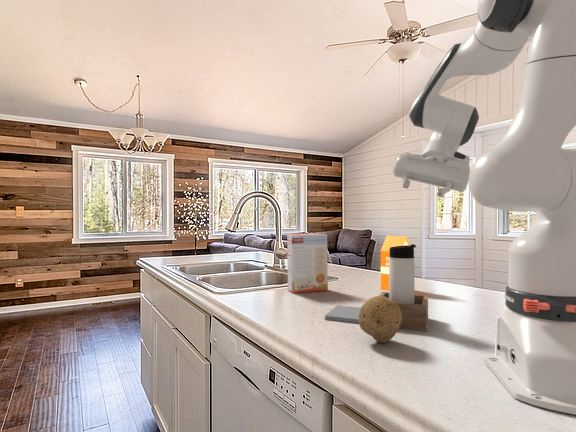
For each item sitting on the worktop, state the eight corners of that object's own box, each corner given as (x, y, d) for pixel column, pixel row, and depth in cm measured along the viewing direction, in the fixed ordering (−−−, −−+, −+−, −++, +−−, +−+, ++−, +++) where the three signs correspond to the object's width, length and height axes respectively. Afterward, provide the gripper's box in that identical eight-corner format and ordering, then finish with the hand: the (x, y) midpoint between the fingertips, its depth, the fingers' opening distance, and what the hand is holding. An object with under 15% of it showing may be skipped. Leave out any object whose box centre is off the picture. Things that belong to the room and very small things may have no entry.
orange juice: (392, 286, 139) (392, 235, 139) (412, 290, 132) (412, 236, 132) (380, 289, 134) (380, 236, 134) (401, 292, 127) (401, 237, 127)
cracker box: (321, 287, 136) (321, 233, 136) (328, 291, 130) (328, 234, 130) (286, 290, 131) (286, 233, 132) (292, 293, 126) (292, 234, 126)
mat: (366, 324, 89) (366, 320, 89) (324, 319, 94) (324, 315, 94) (374, 312, 100) (374, 309, 100) (337, 308, 105) (337, 305, 105)
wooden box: (426, 331, 84) (426, 306, 84) (374, 325, 89) (374, 301, 89) (427, 318, 95) (427, 295, 95) (382, 313, 100) (382, 291, 100)
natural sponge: (380, 353, 70) (380, 303, 70) (349, 340, 78) (349, 294, 78) (410, 344, 75) (410, 297, 75) (379, 333, 83) (379, 290, 83)
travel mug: (417, 326, 88) (417, 245, 88) (390, 324, 89) (390, 245, 90) (413, 319, 94) (413, 243, 94) (388, 317, 96) (388, 243, 96)
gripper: (402, 144, 106) (385, 173, 99) (476, 158, 97) (464, 191, 90) (400, 160, 111) (385, 189, 104) (471, 175, 102) (459, 208, 95)
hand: (422, 190), depth 97 cm, fingers open, 8 cm apart
